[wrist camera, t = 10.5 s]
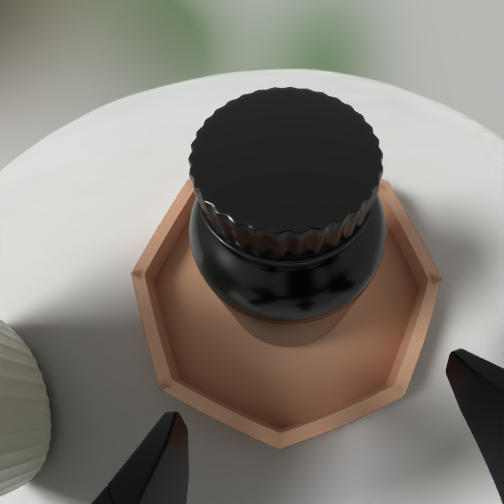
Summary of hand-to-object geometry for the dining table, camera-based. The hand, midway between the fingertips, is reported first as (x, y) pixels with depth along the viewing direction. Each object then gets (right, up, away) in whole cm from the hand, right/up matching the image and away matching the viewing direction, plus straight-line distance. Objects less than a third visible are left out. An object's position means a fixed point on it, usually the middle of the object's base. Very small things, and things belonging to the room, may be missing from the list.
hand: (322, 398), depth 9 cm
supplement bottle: (0, +2, +10) cm, 10 cm away
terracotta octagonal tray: (0, +2, +10) cm, 11 cm away
